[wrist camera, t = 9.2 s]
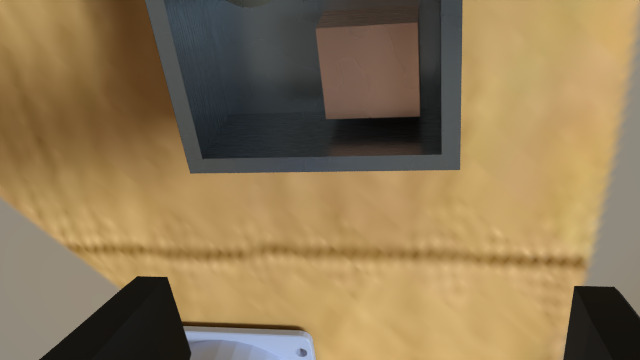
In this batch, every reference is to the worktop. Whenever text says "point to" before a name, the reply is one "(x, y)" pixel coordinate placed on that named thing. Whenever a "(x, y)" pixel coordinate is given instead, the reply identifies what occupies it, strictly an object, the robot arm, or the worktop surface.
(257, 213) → the worktop surface
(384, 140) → the tin
